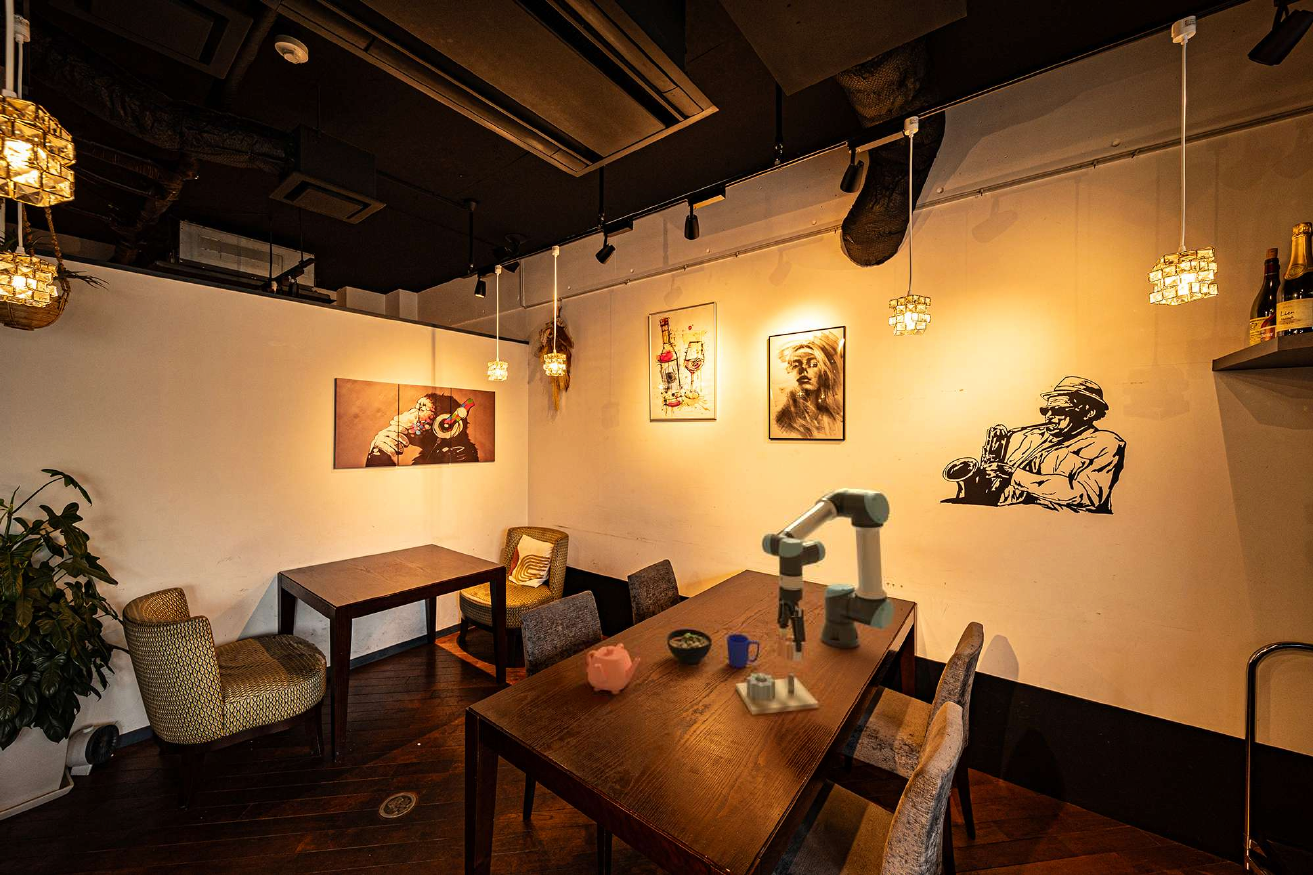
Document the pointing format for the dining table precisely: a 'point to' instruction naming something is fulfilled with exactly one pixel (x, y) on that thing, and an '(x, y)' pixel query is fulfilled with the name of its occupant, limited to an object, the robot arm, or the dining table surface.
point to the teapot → (610, 668)
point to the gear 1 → (761, 687)
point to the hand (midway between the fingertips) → (790, 653)
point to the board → (780, 697)
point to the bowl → (689, 646)
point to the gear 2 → (786, 647)
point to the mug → (739, 650)
